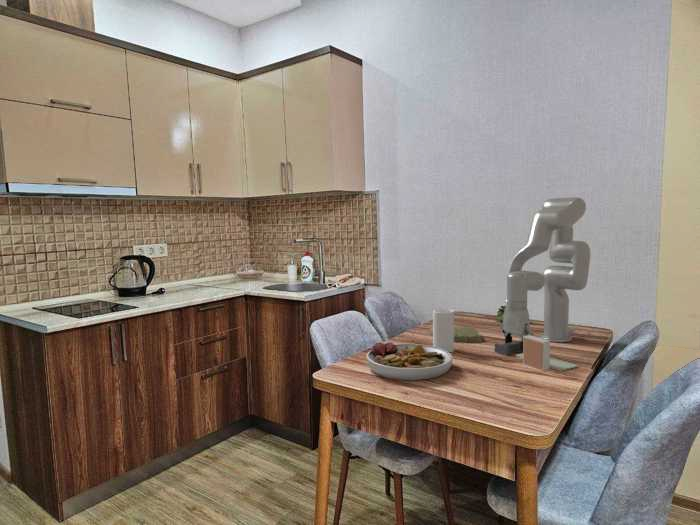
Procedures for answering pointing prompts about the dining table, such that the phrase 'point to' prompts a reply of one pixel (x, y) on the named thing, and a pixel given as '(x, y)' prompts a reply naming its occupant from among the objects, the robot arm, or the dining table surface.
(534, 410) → the dining table surface
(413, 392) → the dining table surface
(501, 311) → the green leafy plant
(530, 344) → the tile
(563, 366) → the mat
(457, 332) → the decorative tile
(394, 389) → the dining table surface
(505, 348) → the grey t-shaped block
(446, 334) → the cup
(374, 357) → the bowl
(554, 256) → the robot arm
